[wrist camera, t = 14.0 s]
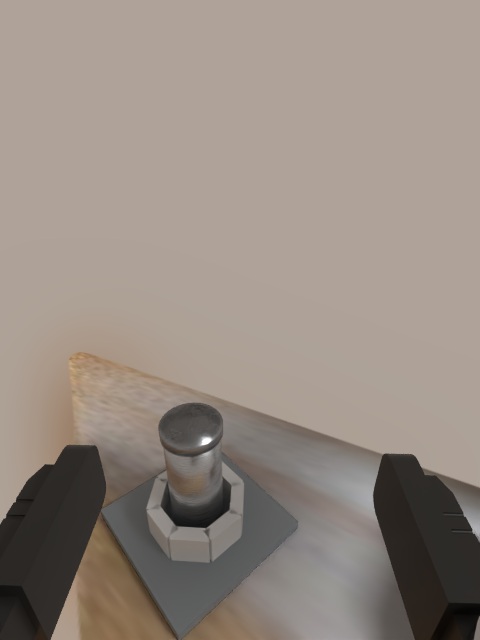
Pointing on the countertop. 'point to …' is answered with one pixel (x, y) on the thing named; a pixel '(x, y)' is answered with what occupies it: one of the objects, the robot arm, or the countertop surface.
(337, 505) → the countertop surface
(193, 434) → the silver metal canister
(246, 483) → the collar
